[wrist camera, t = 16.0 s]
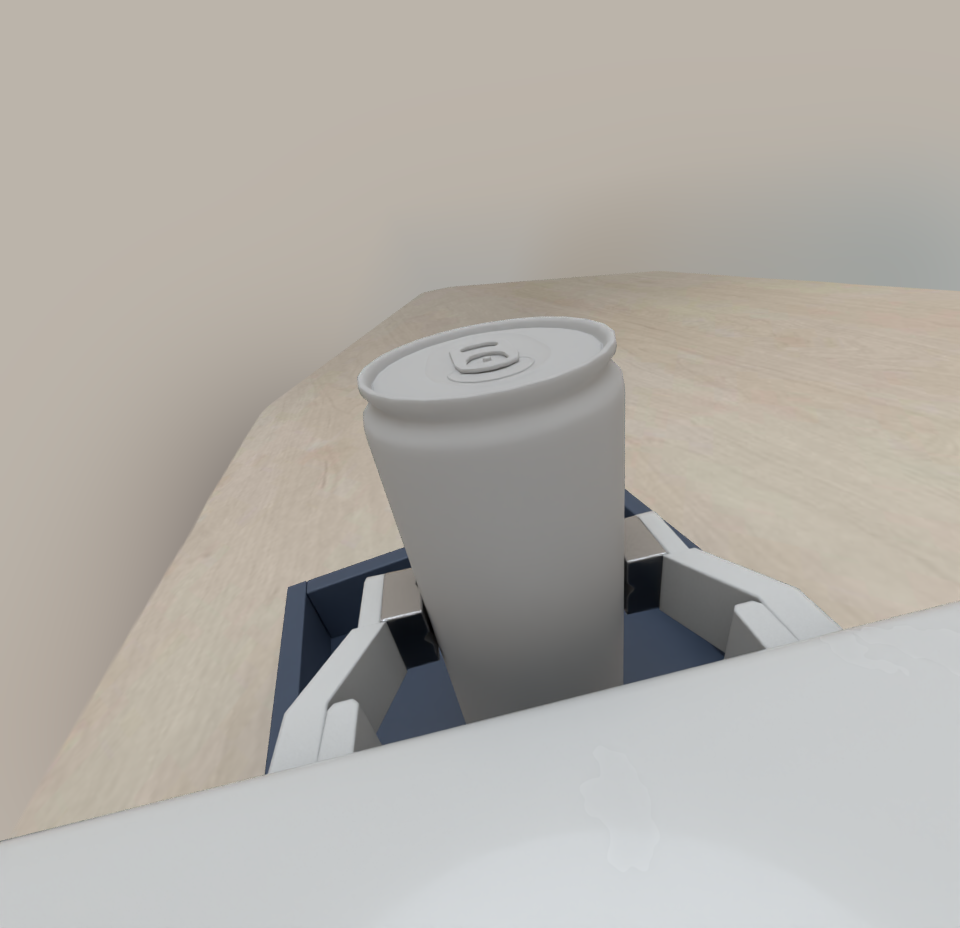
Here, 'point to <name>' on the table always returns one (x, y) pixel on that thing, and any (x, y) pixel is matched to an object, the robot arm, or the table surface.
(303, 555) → the table surface
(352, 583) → the tray
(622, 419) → the beverage can
